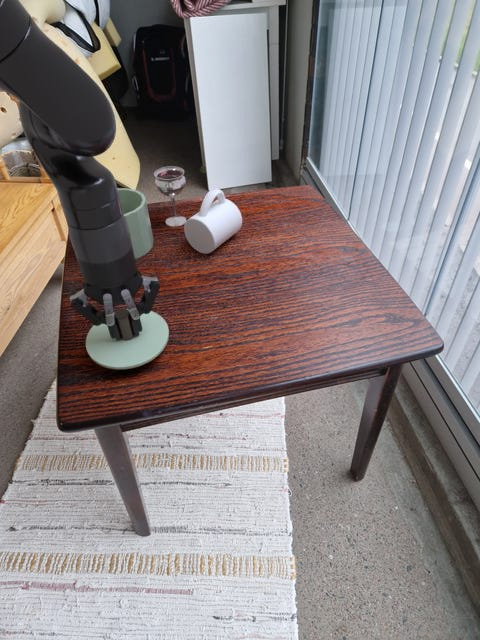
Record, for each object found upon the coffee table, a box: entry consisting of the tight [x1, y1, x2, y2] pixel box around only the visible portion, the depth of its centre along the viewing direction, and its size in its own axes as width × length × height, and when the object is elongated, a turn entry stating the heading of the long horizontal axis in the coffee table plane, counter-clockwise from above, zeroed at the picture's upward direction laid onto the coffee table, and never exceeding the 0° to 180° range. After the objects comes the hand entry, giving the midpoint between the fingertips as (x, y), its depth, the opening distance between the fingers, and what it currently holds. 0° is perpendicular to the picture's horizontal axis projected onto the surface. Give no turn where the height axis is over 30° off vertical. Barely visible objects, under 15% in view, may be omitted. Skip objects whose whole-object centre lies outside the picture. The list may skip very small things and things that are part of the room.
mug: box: [183, 188, 243, 255], centre depth 90 cm, size 8×10×12 cm
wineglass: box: [153, 165, 187, 227], centre depth 97 cm, size 7×7×12 cm
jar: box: [117, 187, 154, 260], centre depth 90 cm, size 12×12×10 cm
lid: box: [85, 307, 170, 370], centre depth 68 cm, size 13×13×6 cm
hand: (127, 334), depth 69 cm, fingers closed on lid, 2 cm apart
